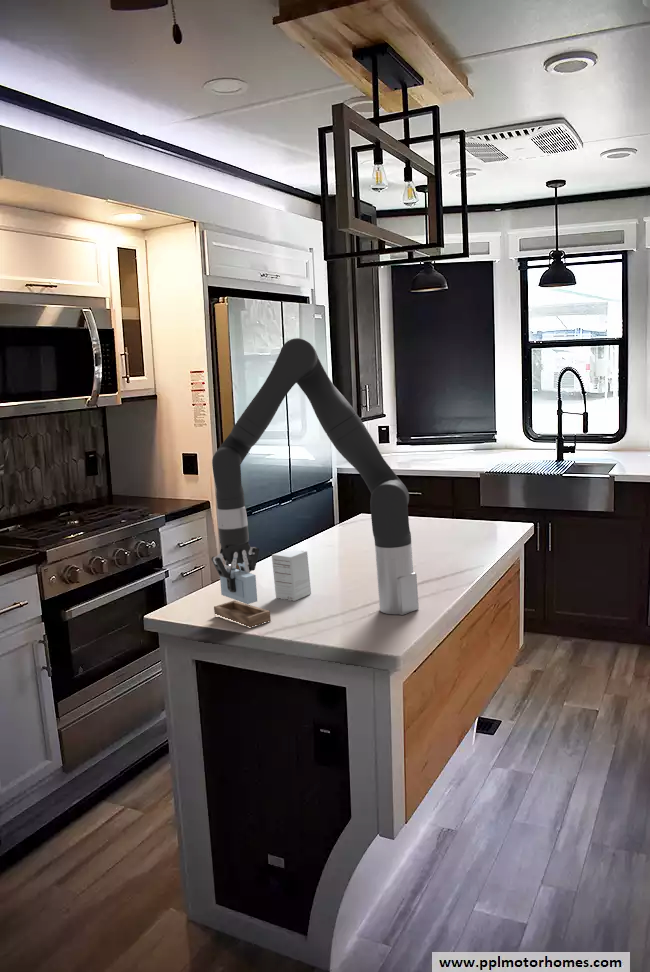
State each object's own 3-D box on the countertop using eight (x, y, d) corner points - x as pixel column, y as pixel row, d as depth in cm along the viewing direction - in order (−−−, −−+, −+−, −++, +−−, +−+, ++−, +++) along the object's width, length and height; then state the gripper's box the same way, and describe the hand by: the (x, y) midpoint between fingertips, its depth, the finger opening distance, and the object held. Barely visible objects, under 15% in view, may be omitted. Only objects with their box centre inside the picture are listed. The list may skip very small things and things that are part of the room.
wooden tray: (270, 621, 204) (269, 610, 204) (250, 628, 200) (248, 617, 200) (235, 610, 216) (234, 600, 216) (214, 616, 212) (213, 606, 212)
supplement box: (292, 591, 230) (288, 548, 229) (312, 594, 226) (308, 550, 224) (274, 598, 225) (270, 554, 223) (294, 601, 220) (290, 556, 218)
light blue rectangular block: (257, 601, 204) (255, 574, 203) (246, 604, 202) (244, 577, 201) (230, 592, 213) (228, 566, 212) (220, 595, 211) (218, 569, 210)
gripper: (217, 531, 197) (224, 599, 200) (263, 521, 206) (269, 586, 209) (201, 528, 203) (208, 594, 205) (247, 518, 212) (252, 581, 214)
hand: (239, 589), depth 207 cm, fingers closed on light blue rectangular block, 3 cm apart
